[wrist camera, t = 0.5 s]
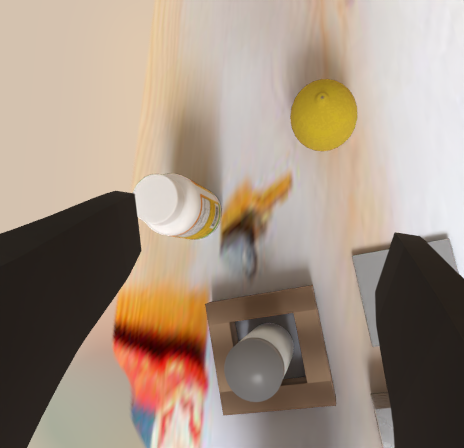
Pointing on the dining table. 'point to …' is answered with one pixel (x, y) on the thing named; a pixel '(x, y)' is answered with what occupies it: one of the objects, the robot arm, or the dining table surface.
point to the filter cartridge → (259, 362)
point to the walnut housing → (310, 338)
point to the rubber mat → (369, 275)
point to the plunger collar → (384, 418)
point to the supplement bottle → (177, 206)
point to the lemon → (323, 115)
